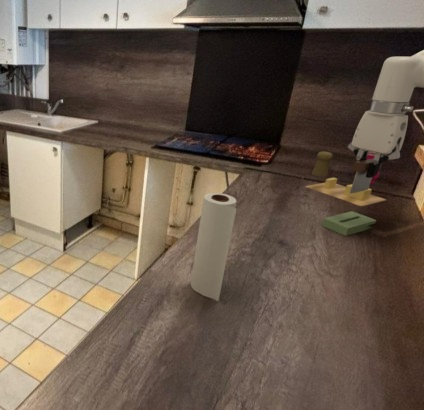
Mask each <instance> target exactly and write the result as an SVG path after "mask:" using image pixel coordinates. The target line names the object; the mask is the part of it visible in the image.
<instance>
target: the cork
mask: <svg viewBox="0 0 424 410" xmlns="http://www.w3.org/2000/svg"><path fill="white" fill-rule="evenodd" d="M332 159H333V153H332V152H330V151H319V152H318V153H317V155H316V162H315V165H314V167H313V169H312V171H311V173H310V174H311V175H312V176H314V177H319V178H328V175H329V170H330V169H329V167H330V162H331V160H332Z"/></svg>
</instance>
